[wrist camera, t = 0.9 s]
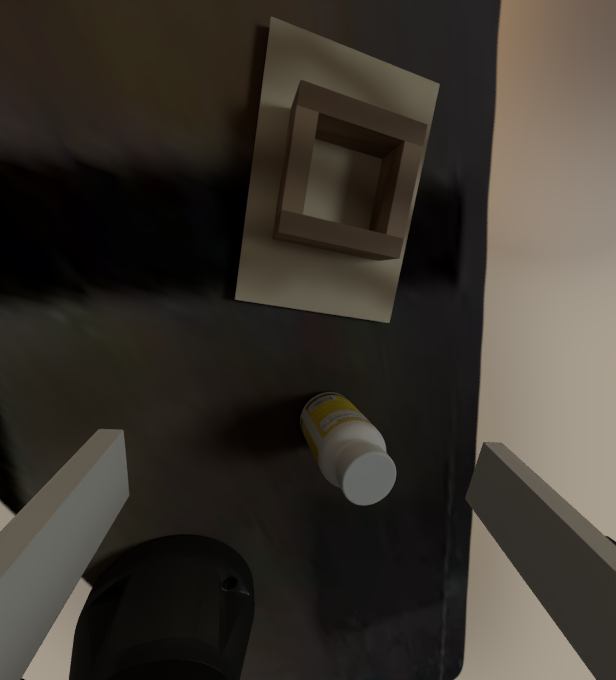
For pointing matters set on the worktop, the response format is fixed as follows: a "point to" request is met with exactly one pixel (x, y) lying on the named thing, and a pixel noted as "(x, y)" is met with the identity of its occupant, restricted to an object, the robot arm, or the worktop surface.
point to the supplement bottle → (347, 448)
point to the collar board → (332, 177)
